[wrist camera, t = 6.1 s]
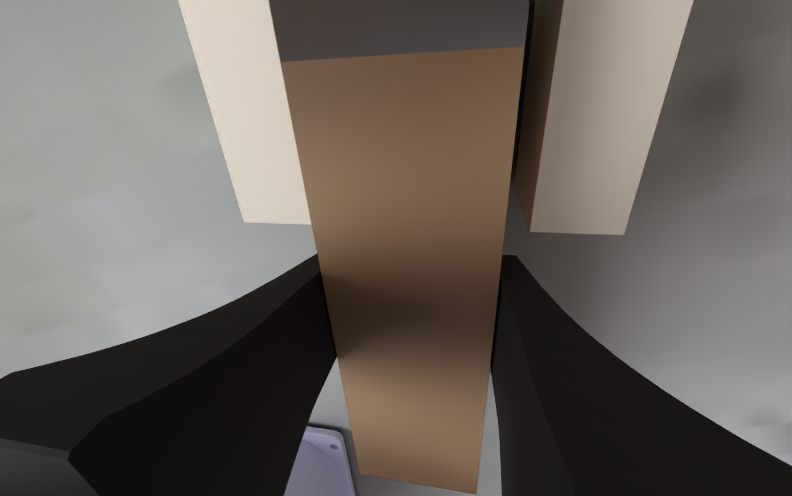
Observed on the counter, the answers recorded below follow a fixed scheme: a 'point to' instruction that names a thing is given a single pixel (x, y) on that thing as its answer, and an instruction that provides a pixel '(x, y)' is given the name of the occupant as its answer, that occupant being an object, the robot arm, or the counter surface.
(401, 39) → the rail
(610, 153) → the cream forked block
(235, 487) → the robot arm
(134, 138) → the counter surface
